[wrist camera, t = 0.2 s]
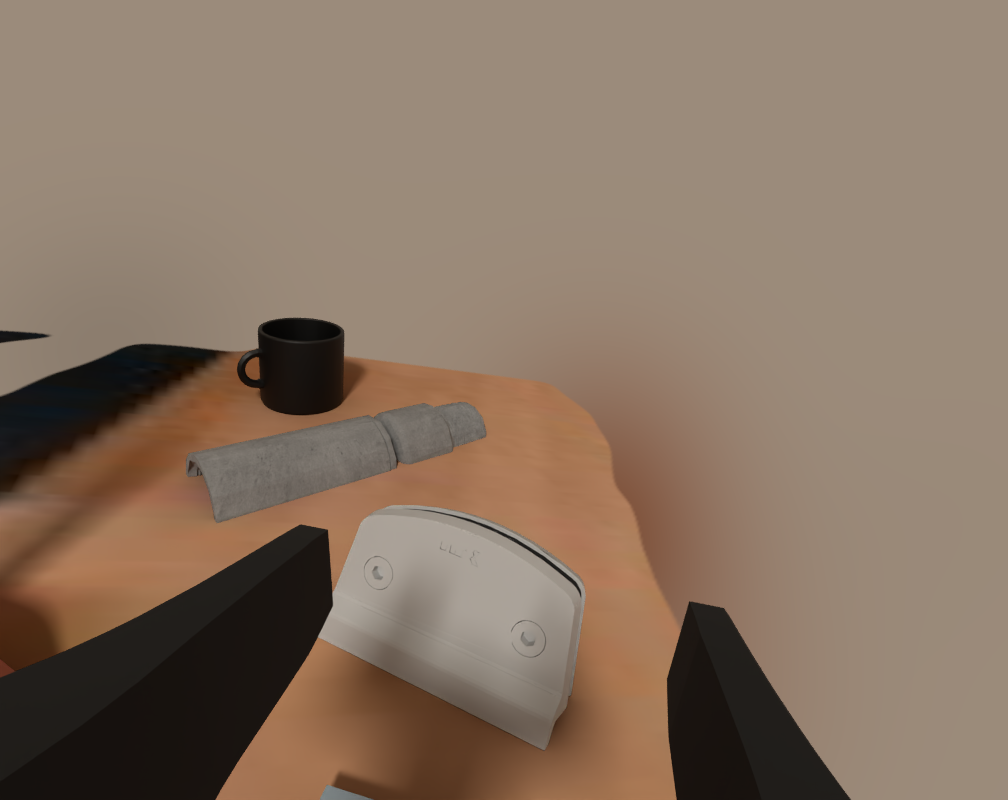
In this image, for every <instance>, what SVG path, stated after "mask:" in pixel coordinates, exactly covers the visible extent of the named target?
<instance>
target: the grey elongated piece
mask: <svg viewBox="0 0 1008 800" xmlns="http://www.w3.org/2000/svg"><path fill="white" fill-rule="evenodd" d="M483 437H486V429H485V425H484V421H483V418H482V416H481V415H480V414H479V412H478V411H477V410H476V408H475V407H473V406H472V405H470V404H468V403H465V402H459V403H451V404H447V405H442V406H438V407H433V406H431V405H428V404H425V403H423V404H418V405H413V406H409V407H404V408H400V409H395V410H390V411H386V412H382V413H379V414H377V415H376V416H375V417H374V418H373V417H371V416H369V415H367V416H363V417H357V418H352V419H348V420H343V421H338V422H334V423H329V424H324V425H320V426H315V427H310V428H306V429H301V430H296V431H292V432H287V433H282V434H278V435H273V436H268V437H263V438H259V439H254V440H249V441H245V442H240V443H235V444H231V445H226V446H221V447H217V448H212V449H207V450H203V451H198V452H193V453H189V454H188V456H187V459H186V475H187V476H188V477H191V476H198V475H200V476H201V474H202V475H203V477H204V480H205V483H206V485H207V488H208V491H209V495H210V499H211V504H212V508H213V512H214V519H215V521H216V522H217V523H219V522H222V521H226V520H229V519H232V518H236V517H239V516H242V515H246V514H249V513H252V512H256V511H259V510H262V509H266V508H269V507H272V506H275V505H279V504H282V503H285V502H289V501H292V500H295V499H299V498H302V497H305V496H309V495H312V494H315V493H318V492H322V491H325V490H328V489H332V488H335V487H338V486H342V485H345V484H348V483H351V482H355V481H358V480H361V479H365V478H368V477H371V476H375V475H378V474H381V473H384V472H388V471H391V470H392V469H395V468H396V459H397V460H398V461H399V462H401V463H404V464H413V463H416V462H420V461H423V460H426V459H430V458H433V457H436V456H440V455H443V454H446V453H450V452H452V451H453V447H457V446H459V445H463V444H465V443H466V444H467V443H469V442H470V441H471V442H473V441H474V440H478V439H482V438H483Z"/></svg>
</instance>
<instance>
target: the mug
mask: <svg viewBox="0 0 1008 800" xmlns="http://www.w3.org/2000/svg"><path fill="white" fill-rule="evenodd" d="M258 342H259V348H258V349H255V350H252V351H249V352H247V353H246V354H244V355H243V356H242V357H241V359H240V361H239V363H238V367H237V372H238V376H239V378H240V380H241V381H242V382H243V383H244V384H245V385H247V386H249V387H253V388H259V389H260V390H261V400H262V402H263V403H264V405H265V406H267V407H268V408H270V409H272V410H274V411H277V412H281V413H286V414H295V415H307V414H317V413H322V412H326V411H329V410H331V409H333V408H335V407H337V406H338V405H339V404H340V403H341V401H342V399H343V368H344V330H343V329H342V328H341V327H340V326H338V325H336V324H334V323H331V322H327V321H323V320H318V319H309V318H283V319H276V320H271V321H267V322H265V323H263V324H261V325H260V326H259V328H258ZM254 357H259V367H260V379H258V380H253V379H250V378H249V377H248V376H247V375H246V372H245V367H246V364H247V363H248V361H249V360H251V359H252V358H254Z"/></svg>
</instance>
